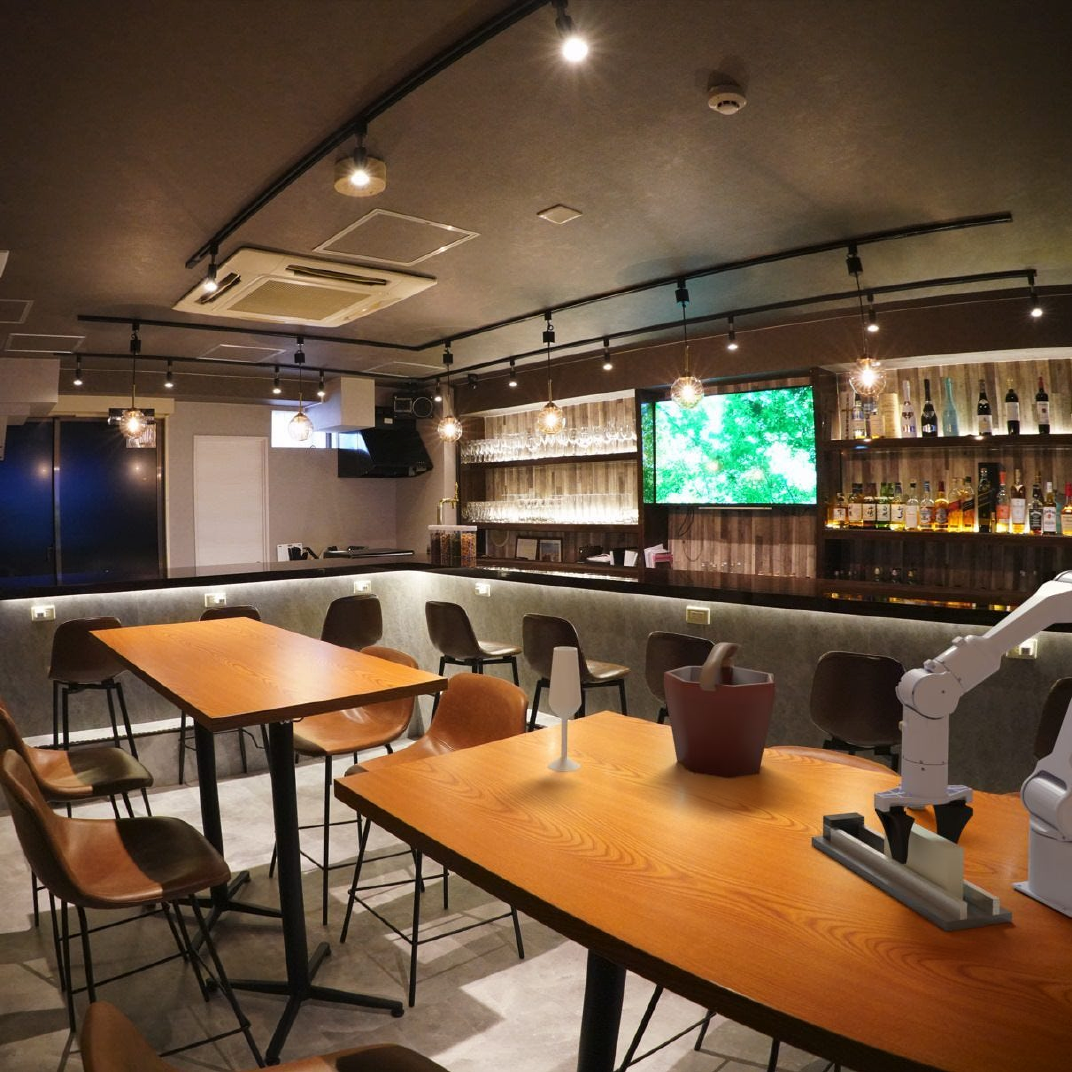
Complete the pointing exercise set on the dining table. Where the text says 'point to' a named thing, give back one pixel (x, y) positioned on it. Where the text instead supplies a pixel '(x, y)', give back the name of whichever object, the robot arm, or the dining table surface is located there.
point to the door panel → (934, 859)
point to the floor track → (905, 877)
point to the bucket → (719, 714)
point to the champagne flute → (564, 698)
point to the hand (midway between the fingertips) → (922, 858)
